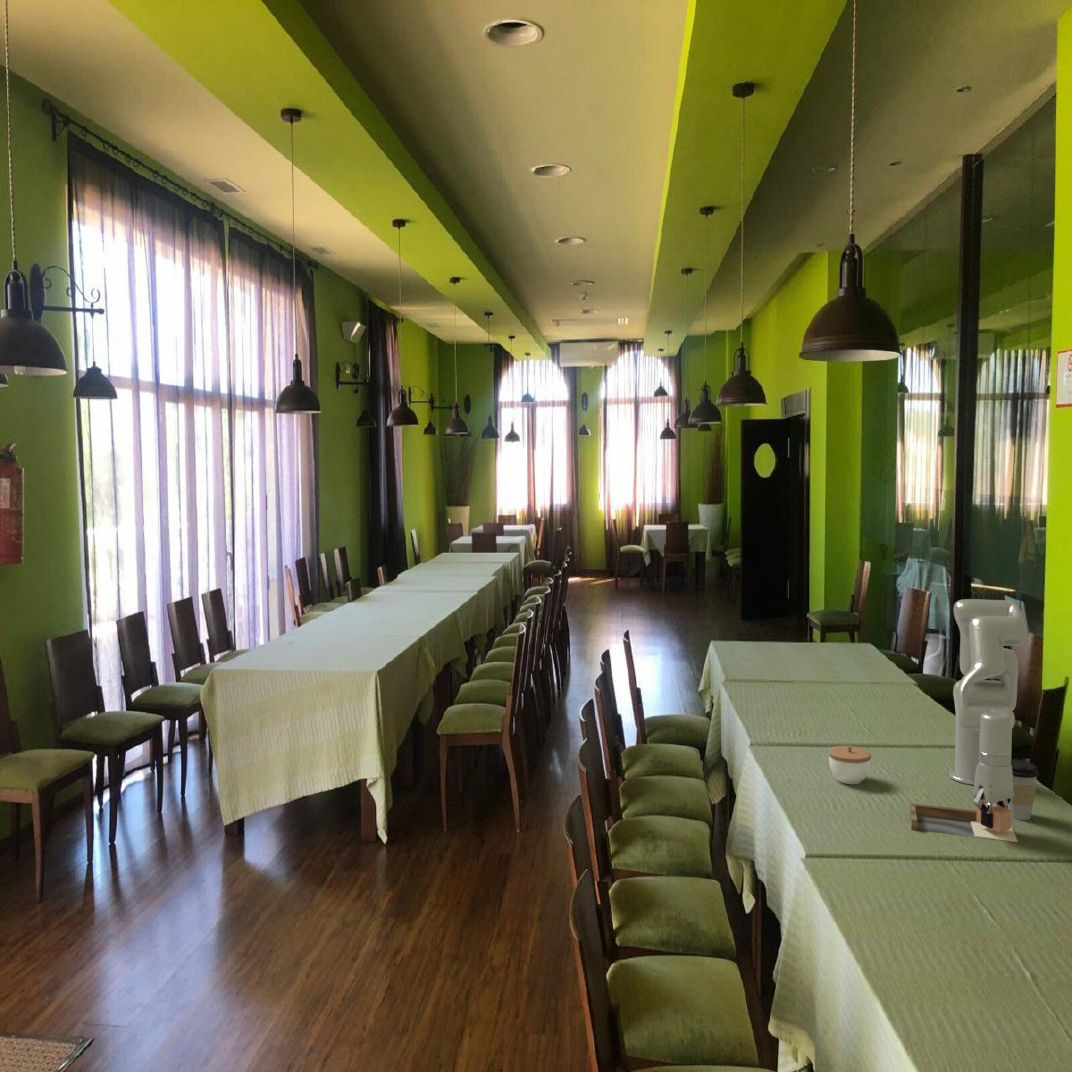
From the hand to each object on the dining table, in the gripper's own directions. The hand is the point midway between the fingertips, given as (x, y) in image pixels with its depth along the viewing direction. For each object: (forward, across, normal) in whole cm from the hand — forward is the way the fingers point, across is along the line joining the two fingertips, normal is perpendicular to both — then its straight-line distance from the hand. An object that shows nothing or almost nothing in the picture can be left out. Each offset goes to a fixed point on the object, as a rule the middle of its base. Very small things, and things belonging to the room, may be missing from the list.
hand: (993, 823), depth 232 cm
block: (0, 0, 0) cm, 0 cm away
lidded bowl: (+3, +6, -47) cm, 47 cm away
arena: (+2, +4, -6) cm, 7 cm away
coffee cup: (+3, -16, -4) cm, 16 cm away
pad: (+2, 0, 0) cm, 2 cm away
